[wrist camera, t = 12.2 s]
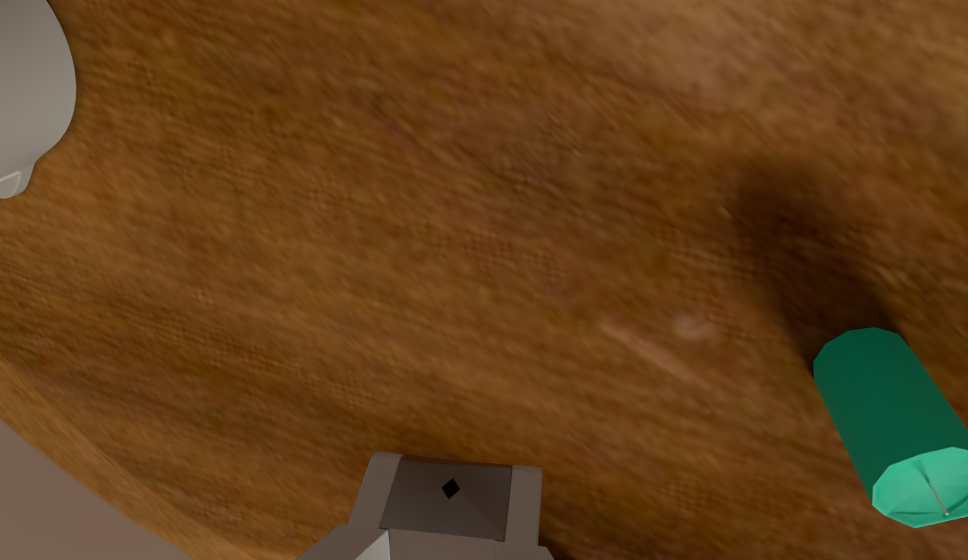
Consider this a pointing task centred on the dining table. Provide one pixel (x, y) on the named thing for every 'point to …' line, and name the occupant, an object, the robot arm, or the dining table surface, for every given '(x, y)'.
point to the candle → (895, 427)
